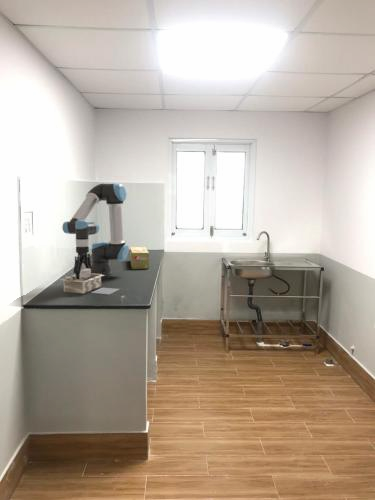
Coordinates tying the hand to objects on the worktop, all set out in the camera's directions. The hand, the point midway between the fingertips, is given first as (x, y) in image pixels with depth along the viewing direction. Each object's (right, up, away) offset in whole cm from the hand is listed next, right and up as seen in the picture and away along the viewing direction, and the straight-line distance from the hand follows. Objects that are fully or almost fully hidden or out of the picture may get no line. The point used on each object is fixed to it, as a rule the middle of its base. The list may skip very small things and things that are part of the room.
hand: (83, 282), depth 257 cm
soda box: (+24, +7, +90) cm, 93 cm away
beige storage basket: (0, -4, 0) cm, 4 cm away
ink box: (0, -4, 0) cm, 4 cm away
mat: (+15, -5, -6) cm, 17 cm away
